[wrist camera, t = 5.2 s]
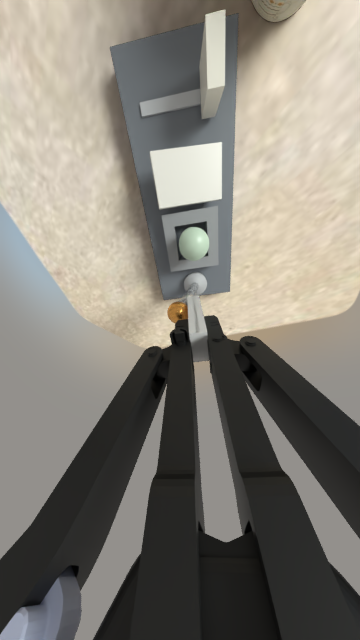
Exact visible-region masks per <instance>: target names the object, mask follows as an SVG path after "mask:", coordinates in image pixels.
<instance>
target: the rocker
mask: <svg viewBox="0 0 360 640" xmlns="http://www.w3.org/2000/svg"><path fill="white" fill-rule="evenodd" d="M150 159H151V165H152V171H153V177H154V182H155V188H156V194H157V200H158V206H159V210H160V209H166V208H173V207H179V206H186V205H192V204H198V203H205V202H211V201H218V200H220V199H222V142H218V143H210V144H202V145H194V146H187V147H179V148H171V149H163V150H155V151H150Z"/></svg>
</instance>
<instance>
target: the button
mask: <svg viewBox="0 0 360 640" xmlns="http://www.w3.org/2000/svg"><path fill="white" fill-rule="evenodd" d="M208 248H209V238H208V236H207V234H206V232H205V231H204V230H202V229H200V228H197V227H189V228H187V229H185V230H184V231H183V232H182V234H181V236H180V239H179V249H180V252H181V254H182V255H183V257H184V258H186V259H188V260H190V261H196V260H199V259H201V258H203V257H204V256H205V254H206V253H207V251H208Z"/></svg>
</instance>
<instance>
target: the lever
mask: <svg viewBox="0 0 360 640" xmlns="http://www.w3.org/2000/svg"><path fill="white" fill-rule="evenodd" d="M198 289H199V285H198V283H195V282H194V283H192V284H191V285H190V287H189V288H188V289H187V291H186V292H185V294H184V295H183V297H182V298H181V299H180V301H179V302H174V303H172V304H171V305H170V306H169V308H168V312H167V313H168V317H169V319H170V320H171V321H172V322H174V323H176V322H177V321H178V320H182V319H188V303H187V297H189V296H195V295H196V293H197V291H198Z"/></svg>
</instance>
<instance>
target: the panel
mask: <svg viewBox="0 0 360 640" xmlns="http://www.w3.org/2000/svg"><path fill="white" fill-rule="evenodd" d="M204 23H205V22H203V23H199V24H195V25H191V26H188V27H184V28H180V29H176V30H172V31H169V32H165V33H161V34H157V35H154V36H150V37H146V38H142V39H138V40H135V41H131V42H127V43H123V44H120V45H116V46H112V47H110V51H111V55H112V60H113V65H114V69H115V74H116V79H117V83H118V88H119V93H120V98H121V102H122V107H123V112H124V116H125V121H126V126H127V130H128V135H129V140H130V144H131V149H132V154H133V158H134V163H135V168H136V172H137V177H138V182H139V186H140V191H141V196H142V201H143V205H144V210H145V215H146V219H147V224H148V229H149V233H150V238H151V243H152V247H153V252H154V257H155V261H156V266H157V271H158V275H159V280H160V285H161V289H162V294H163V299H164V300H168V299H176V298H182V297H183V295H184V294H185V292H186V291H187V289H188V288H189V287H190V285H191V284H192V283H194V282H195V283H198V285H199V289H198V291H197V293H196V295H207V294H215V293H223V292H230V271H231V239H232V207H233V174H234V142H235V110H236V78H237V45H238V13H237V14H233V15H229V16H225V87H224V90H223V93H222V96H221V99H220V103H219V106H218V109H217V112H216V115H215V117H211V118H206V119H202V116H201V93H200V70H199V65H200V57H201V48H202V40H203V31H204ZM218 142H222V199H220V200H218V201H211V202H205V203H198V204H192V205H186V206H179V207H173V208H166V209H160V210H159V206H158V200H157V194H156V188H155V182H154V177H153V171H152V165H151V159H150V151H155V150H163V149H171V148H179V147H187V146H194V145H202V144H210V143H218ZM189 227H197V228H200V229H202V230H204V231H205V232H206V234H207V236H208V238H209V248H208V251H207V253H206V254H205V256H204V257H203V258H201V259H199V260H196V261H190V260H188V259H186V258H184V257H183V255H182V254H181V252H180V249H179V239H180V236H181V234H182V232H183V231H184V230H185V229H187V228H189ZM196 295H195V296H196Z"/></svg>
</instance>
